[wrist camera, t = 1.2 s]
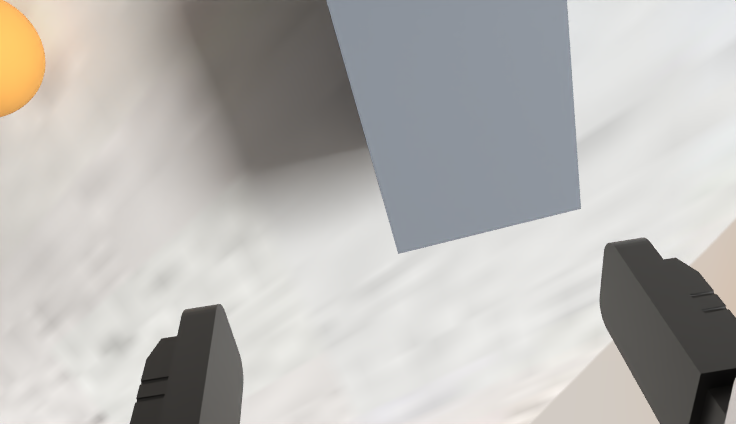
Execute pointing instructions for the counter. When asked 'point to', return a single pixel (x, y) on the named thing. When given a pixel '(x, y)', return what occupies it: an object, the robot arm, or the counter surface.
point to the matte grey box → (463, 111)
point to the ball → (18, 60)
